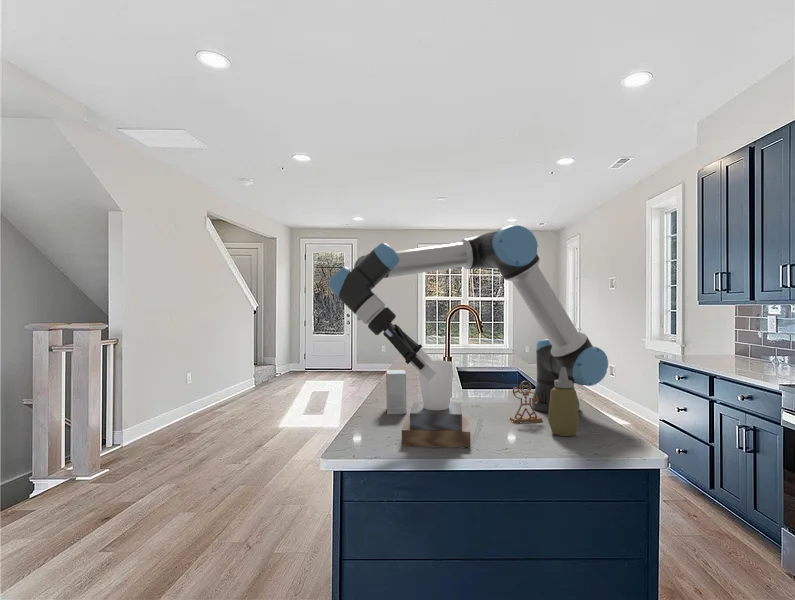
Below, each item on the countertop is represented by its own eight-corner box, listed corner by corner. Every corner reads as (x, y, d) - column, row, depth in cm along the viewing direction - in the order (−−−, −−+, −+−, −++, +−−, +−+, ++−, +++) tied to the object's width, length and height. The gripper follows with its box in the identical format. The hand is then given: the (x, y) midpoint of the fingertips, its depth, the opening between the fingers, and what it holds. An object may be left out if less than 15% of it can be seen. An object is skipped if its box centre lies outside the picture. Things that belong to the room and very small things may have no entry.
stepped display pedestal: (468, 431, 135) (468, 402, 135) (470, 447, 120) (470, 415, 120) (407, 429, 137) (406, 401, 137) (401, 446, 122) (401, 414, 122)
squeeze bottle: (564, 439, 126) (563, 370, 126) (541, 432, 133) (541, 366, 133) (586, 435, 130) (585, 368, 130) (563, 428, 137) (562, 364, 137)
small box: (386, 408, 163) (386, 369, 163) (405, 408, 163) (405, 369, 163) (386, 414, 155) (386, 373, 155) (406, 414, 155) (406, 373, 155)
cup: (453, 404, 132) (452, 360, 132) (453, 412, 124) (453, 365, 123) (420, 403, 133) (419, 360, 133) (418, 411, 124) (417, 364, 124)
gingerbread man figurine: (536, 418, 148) (536, 379, 148) (542, 421, 144) (542, 381, 144) (509, 420, 147) (509, 380, 147) (514, 423, 143) (514, 382, 143)
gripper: (374, 323, 142) (425, 374, 141) (357, 328, 117) (420, 391, 116) (391, 304, 142) (444, 356, 140) (379, 306, 117) (442, 369, 115)
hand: (433, 372), depth 128 cm, fingers open, 13 cm apart
